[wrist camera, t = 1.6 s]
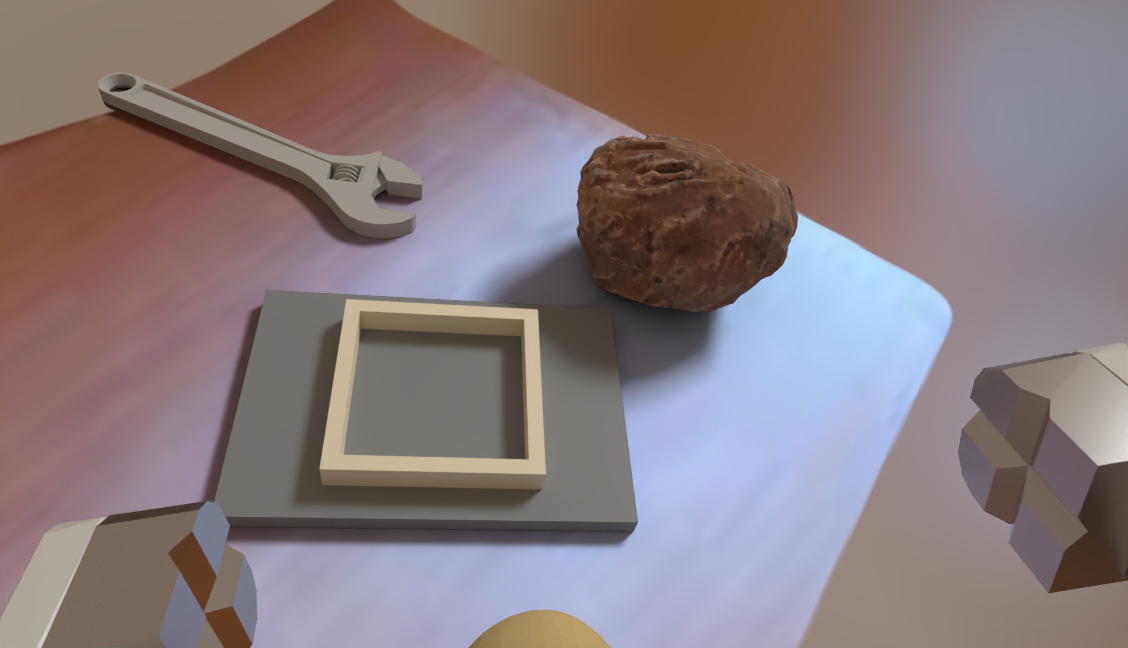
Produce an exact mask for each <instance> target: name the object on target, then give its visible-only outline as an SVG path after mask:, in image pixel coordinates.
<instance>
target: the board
mask: <svg viewBox="0 0 1128 648" xmlns="http://www.w3.org/2000/svg"><path fill="white" fill-rule="evenodd" d="M214 503H218V505H219V506H220V508H221V510H222V512H223V514H224V516H225V517H226V519H227V521H228V523H229V525H230V526H235V527H316V528H398V529H479V530H560V531H634V530H635V527H636V525H637V523H638V519H637V511H636V503H635V495H634V487H633V479H632V472H631V464H630V456H629V448H628V440H627V432H626V424H625V416H624V408H623V401H622V393H621V385H620V377H619V369H618V361H617V353H616V345H615V338H614V330H613V322H612V314H611V309H606V308H588V307H570V306H551V305H533V304H515V303H497V302H478V301H460V300H442V299H423V298H405V297H387V296H369V295H350V294H332V293H314V292H295V291H277V290H266V293H265V297H264V301H263V305H262V309H261V313H260V318H259V322H258V326H257V330H256V334H255V338H254V342H253V346H252V350H251V354H250V358H249V362H248V366H247V370H246V374H245V378H244V382H243V386H242V390H241V395H240V399H239V403H238V407H237V411H236V415H235V419H234V423H233V427H232V431H231V435H230V439H229V443H228V447H227V451H226V455H225V459H224V463H223V467H222V471H221V476H220V480H219V484H218V488H217V492H216V496H215V500H214Z"/></svg>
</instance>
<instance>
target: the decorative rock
mask: <svg viewBox="0 0 1128 648" xmlns="http://www.w3.org/2000/svg"><path fill="white" fill-rule="evenodd" d="M580 173H581V180H580V183H579V186H578V201H577V209H578V217H579V225H578V227H577V229H576V230H577V235H578V238H579V240H580V243H581V246H582V248H583V251H584V253H585V255H586V258H587V263H588V266H589V269H590V271H591V274H592V277H593V280H594V282H595V283H596V284H597V285H598V286H600V287H601V288H602V289H604V290H606V291H610V292H611V293H614V294H617V295H619V296H622V297H625V298H627V299H631V300H635V301H638V302H641V303H644V304H646V305H649V306H654V307H663V308H673V309H684V310H688V311H692V312H697V311H700V312H711V311H714V310H716V309H718V308H721V307H724V306H727V305H729V304H733V303H734V302H735V301H736V300H737V299H738V298H739V297H740V296H741V295H742V294H744V293H745V292H747V291H748V290H750V289H751V288H752V287H753V286H755V285H756V284H757V283H758V282H759V281H760V280H761V279H763V278H765V277H768V276H771V275H772V274H773V273H774V272H776V271H777V270H778V269H779V268H780V267H781V266H782V265H783V263H784V261H785V259H786V257H787V251H788V246H789V243H790V241H791V238H792V237H793V236H794V234H795V231H796V229H797V221H798V215H797V212H796V208H795V201H794V197H793V195H792V193H791V192H790V189H789V187H788V186H787V185H786V184H785V183H784V182H783V181H782V180H779V179H777V178H775V177H773V176H771V175H770V174H768V173H766V172H765V171H763V170H761V169H760V168H758V167H756V166H754V165H752V164H749V163H745V162H740V161H736V160H732V159H729V158H727V157H726V156H725V155H724V154H723V153H722V152H721V151H719V150H718V149H717V148H716V147H715V146H711V145H707V144H703V143H700V142H697V141H693V140H689V139H682V138H674V137H667V136H663V135H660V134H650V135H647V137H646V139H644V140H643V139H640V138H638V137H626V136H620V137H618V138H615V139H611V140H610V141H608V142H607V143H605V144H604V145H603V146H600V147H598V148H596V149H595V150H594V152H593V154H592V156H591V158H590V159H589V161H588V162H587V163H586V164H585V165H584V166H583V168H582V170H581V171H580Z"/></svg>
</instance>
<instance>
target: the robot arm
mask: <svg viewBox="0 0 1128 648" xmlns="http://www.w3.org/2000/svg"><path fill="white" fill-rule="evenodd" d="M970 398H971V399H972V401H973V402H974V403H975V405H976V406H977V408H978V409H979V410H980V411H979V412H978V413H977V414H976V415H975V416H974V417H973V418H972V419H971V420H970V421H969V422H968V423H967V424H966V425H965V426H964V427H963V429H962V433H961V439H960V444H959V449H958V454H959V460H960V465H961V471H962V476H963V478H964V480H965V482H966V484H967V486H968V488H969V490H970V492H971V494H972V495H973V497H974V498H975V499H976V501H977V502H978V503H979V505H980V506H981V507H982V509H983V510H984V511H985V512H987V513H989V514H991V515H993V516H995V517H997V518H999V519H1001V520H1003V521H1005V522H1007V523H1009V524H1010V532H1009V544H1010V545H1011V546H1012V548H1013V549H1014V550H1015V551H1016V553H1017V554H1018V555H1019V556H1020V558H1021V559H1022V560H1023V562H1024V563H1025V564H1026V565H1027V567H1028V568H1029V569H1030V570H1031V572H1032V573H1033V574H1034V575H1035V577H1036V578H1037V579H1038V580H1039V582H1040V583H1041V584H1042V586H1043V587H1044V588H1045V590H1046V591H1047V592H1048V593H1054V592H1060V591H1066V590H1072V589H1078V588H1084V587H1091V586H1097V585H1103V584H1109V583H1115V582H1121V581H1128V345H1126V344H1122V343H1117V344H1111V345H1106V346H1101V347H1096V348H1090V349H1085V350H1080V351H1075V352H1073V353H1065V354H1060V355H1054V356H1049V357H1043V358H1038V359H1032V360H1027V361H1021V362H1015V363H1010V364H1004V365H999V366H994V367H988V368H984V369H983V370H982V372H981V373H980V374H979V375H978V376H977V377H976V379H975V381H974V385H973V389H972V393H971V396H970ZM229 527H230V525H229V523H228V521H227V519H226V517H225V516H224V514H223V512H222V510H221V508H220V506H219V505H218V503H214V502H209V501H204V502H197V503H190V504H183V505H177V506H170V507H163V508H156V509H149V510H143V511H136V512H129V513H122V514H115V515H109V516H108V517H104V518H97V519H89V520H82V521H75V522H68V523H61V524H57V525H56V526H54V527H53V528H52V529H50V530H49V531H48V532H47V533H45V534H44V535H43V537H42V538H41V540H40V542H39V544H38V546H37V548H36V550H35V552H34V554H33V556H32V558H31V560H30V561H29V563H28V565H27V567H26V569H25V571H24V573H23V575H22V577H21V579H20V581H19V583H18V584H17V586H16V588H15V590H14V592H13V594H12V596H11V598H10V600H9V602H8V604H7V606H6V607H5V609H4V611H3V613H2V615H1V617H0V648H250V647H251V646H252V644H253V639H254V633H255V628H256V622H257V591H256V587H255V582H254V578H253V574H252V570H251V568H250V566H249V564H248V562H247V560H246V557H245V555H244V554H242V553H240V552H239V551H237V550H235V549H233V548H231V547H229V546H227V545H226V544H225V543H226V539H227V535H228V531H229Z"/></svg>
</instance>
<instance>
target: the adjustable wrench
mask: <svg viewBox="0 0 1128 648" xmlns="http://www.w3.org/2000/svg"><path fill="white" fill-rule="evenodd" d="M98 88H99V90H100V93H101V96H102V99H103V102H104V104H105V106H106V107H108V108H109V109H111V110H117V109H122V110H124V111H126V112H129V113H131V114H134V115H136V116H139V117H141V118H144V119H146V120H148V121H151V122H153V123H156V124H158V125H161V126H163V127H166V128H168V129H171V130H173V131H175V132H178V133H180V134H183V135H185V136H188V137H190V138H193V139H195V140H197V141H200V142H202V143H205V144H207V145H210V146H212V147H215V148H217V149H219V150H222V151H224V152H227V153H229V154H232V155H234V156H237V157H239V158H241V159H244V160H246V161H249V162H251V163H254V164H256V165H259V166H261V167H264V168H266V169H268V170H271V171H273V172H276V173H278V174H281V175H283V176H286V177H288V178H290V179H293V180H295V181H297V182H299V183H301V184H303V185H305V186H306V187H308V188H309V189H310V190H312V191H313V192H314V193H315V194H316V195H317V196H318V197H320V198H321V199H322V200H323V201H324V202H325V203H326V204H327V205H328V206H329V207H330V208H331V210H332V211H333V212H334V213H335V215H336V216H337V217H338V218H339V219H340V221H341V222H342V223H343V224H344V225H345V226H346V227H347V228H349V229H350V230H352V231H354V232H356V233H358V234H360V235H363V236H367V237H372V238H395V237H401V236H404V235H407V234H409V233H412V232H413V231H414V230H415V228H416V213H413V212H404V211H395V210H387V209H379V207H378V205H377V204H376V202H375V200H374V198H375V196H377V195H378V194H379V193H381V192H383V191H384V190H386V192H387V194H388V195H393V196H401V197H409V198H418V199H422V197H423V179H422V178H421V177H420V176H419V175H418V174H417V173H416V172H415V171H414V170H412V169H411V168H409V167H408V166H406V165H404V164H402V163H400V162H398V161H395V160H393V159H390V158H387V157H384V156H382V152H375V153H372V154H368V155H361V156H336V155H329V154H324V153H320V152H317V151H314V150H311V149H309V148H307V147H304V146H302V145H299V144H297V143H295V142H292V141H290V140H288V139H285V138H283V137H280V136H278V135H276V134H273V133H271V132H269V131H266V130H264V129H261V128H259V127H257V126H254V125H252V124H249V123H247V122H245V121H242V120H240V119H238V118H235V117H233V116H230V115H228V114H226V113H223V112H221V111H219V110H216V109H214V108H211V107H209V106H207V105H204V104H202V103H199V102H197V101H195V100H192V99H190V98H188V97H185V96H183V95H180V94H178V93H176V92H173V91H171V90H169V89H166V88H164V87H161V86H159V85H156V84H154V83H152V82H149V81H147V80H145V79H142V78H140V77H138V76H135V75H133V74H129V73H122V72H120V73H112V74H108V75H106V76H105V77H103V78H101V79H100V80H99V82H98ZM121 91H123V92H121ZM332 176H333V177H332Z"/></svg>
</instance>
